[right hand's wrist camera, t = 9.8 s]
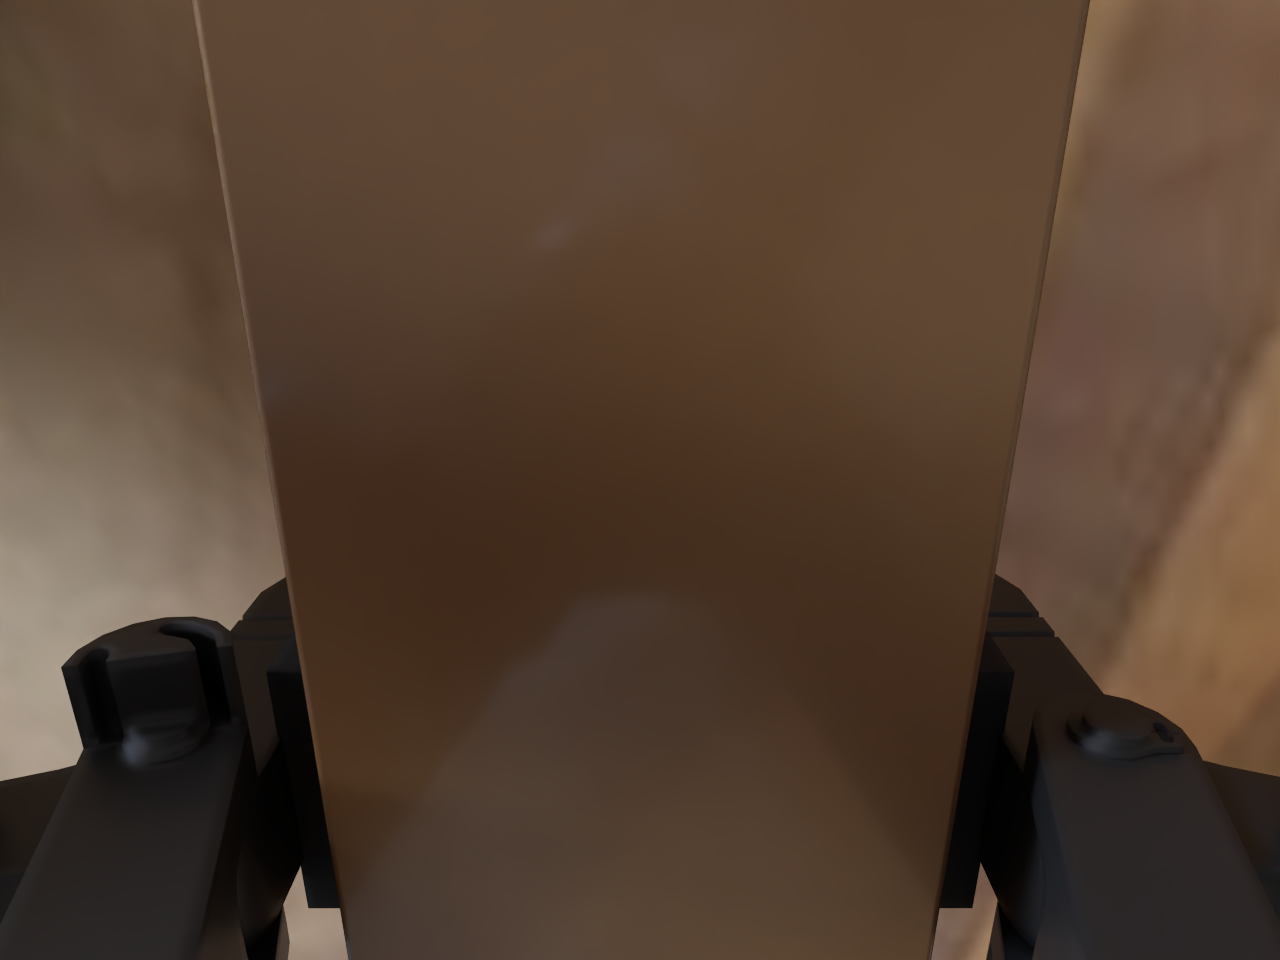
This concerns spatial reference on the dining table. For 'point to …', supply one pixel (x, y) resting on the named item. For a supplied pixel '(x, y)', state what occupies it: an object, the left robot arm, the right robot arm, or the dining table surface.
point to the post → (640, 445)
